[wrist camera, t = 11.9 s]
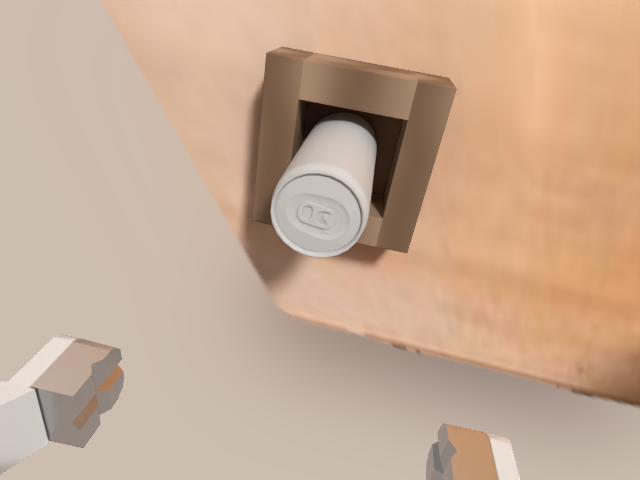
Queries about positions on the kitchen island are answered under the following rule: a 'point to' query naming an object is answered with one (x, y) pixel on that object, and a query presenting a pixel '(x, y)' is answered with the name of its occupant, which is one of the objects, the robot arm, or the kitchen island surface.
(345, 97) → the walnut holder
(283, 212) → the beverage can
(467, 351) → the kitchen island surface
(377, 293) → the kitchen island surface
